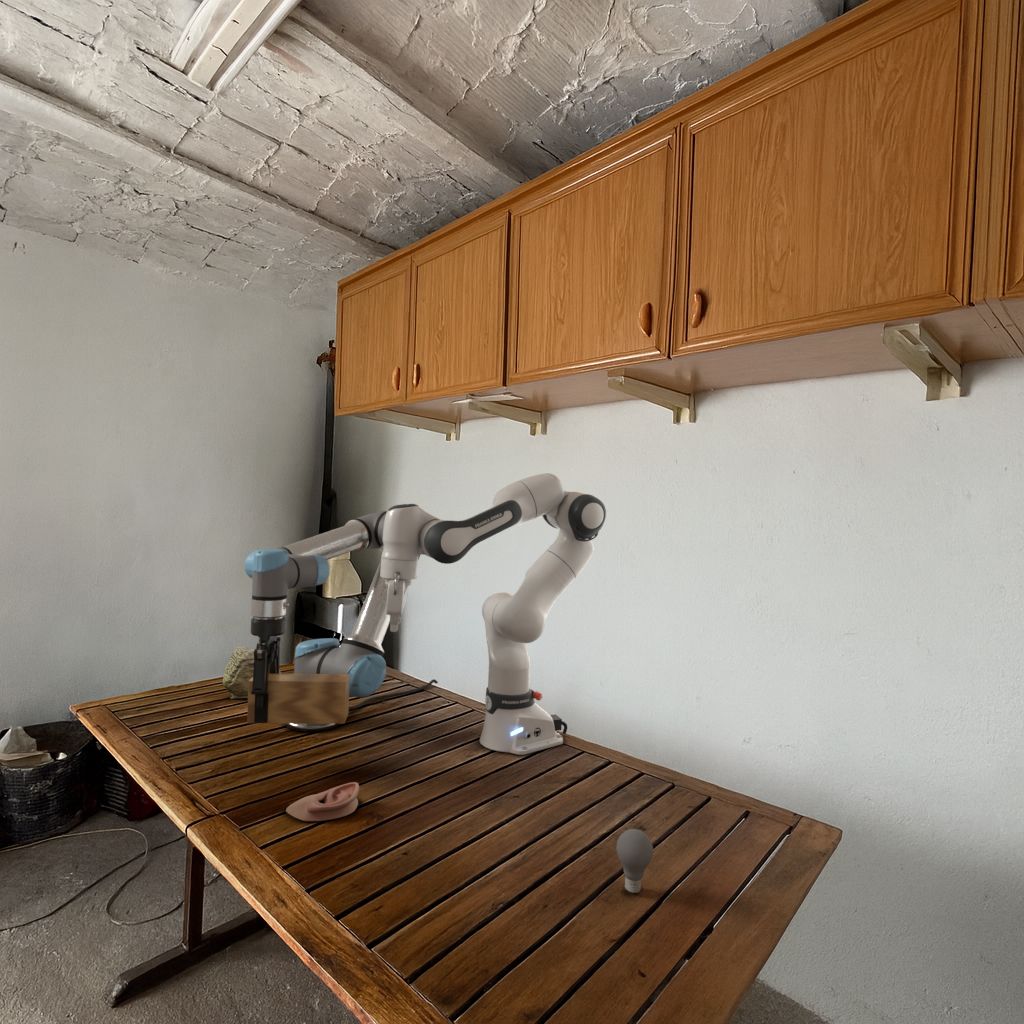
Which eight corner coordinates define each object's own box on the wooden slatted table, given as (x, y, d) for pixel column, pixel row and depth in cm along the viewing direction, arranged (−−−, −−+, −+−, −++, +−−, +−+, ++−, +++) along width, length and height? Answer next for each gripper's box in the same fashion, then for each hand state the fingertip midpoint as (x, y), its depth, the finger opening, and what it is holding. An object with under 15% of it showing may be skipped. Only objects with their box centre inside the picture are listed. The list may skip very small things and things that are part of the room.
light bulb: (610, 879, 108) (613, 822, 108) (644, 879, 109) (647, 822, 109) (619, 902, 102) (622, 840, 102) (655, 901, 103) (658, 840, 103)
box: (247, 723, 142) (248, 680, 142) (255, 713, 148) (256, 673, 148) (344, 723, 144) (345, 681, 144) (348, 714, 151) (349, 674, 151)
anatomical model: (278, 797, 124) (308, 772, 135) (277, 817, 124) (307, 791, 136) (340, 806, 122) (366, 781, 133) (339, 827, 122) (365, 799, 133)
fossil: (218, 695, 195) (220, 647, 195) (278, 685, 208) (279, 640, 207) (228, 703, 189) (230, 653, 188) (289, 692, 201) (290, 645, 201)
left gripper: (274, 625, 136) (270, 732, 136) (295, 609, 155) (291, 703, 156) (238, 624, 135) (234, 732, 136) (263, 609, 154) (260, 703, 155)
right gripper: (410, 576, 143) (406, 637, 143) (414, 566, 164) (410, 620, 164) (381, 574, 142) (378, 635, 143) (389, 565, 163) (385, 619, 163)
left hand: (265, 716), depth 146 cm, fingers closed on box, 6 cm apart
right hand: (395, 627), depth 153 cm, fingers open, 8 cm apart
